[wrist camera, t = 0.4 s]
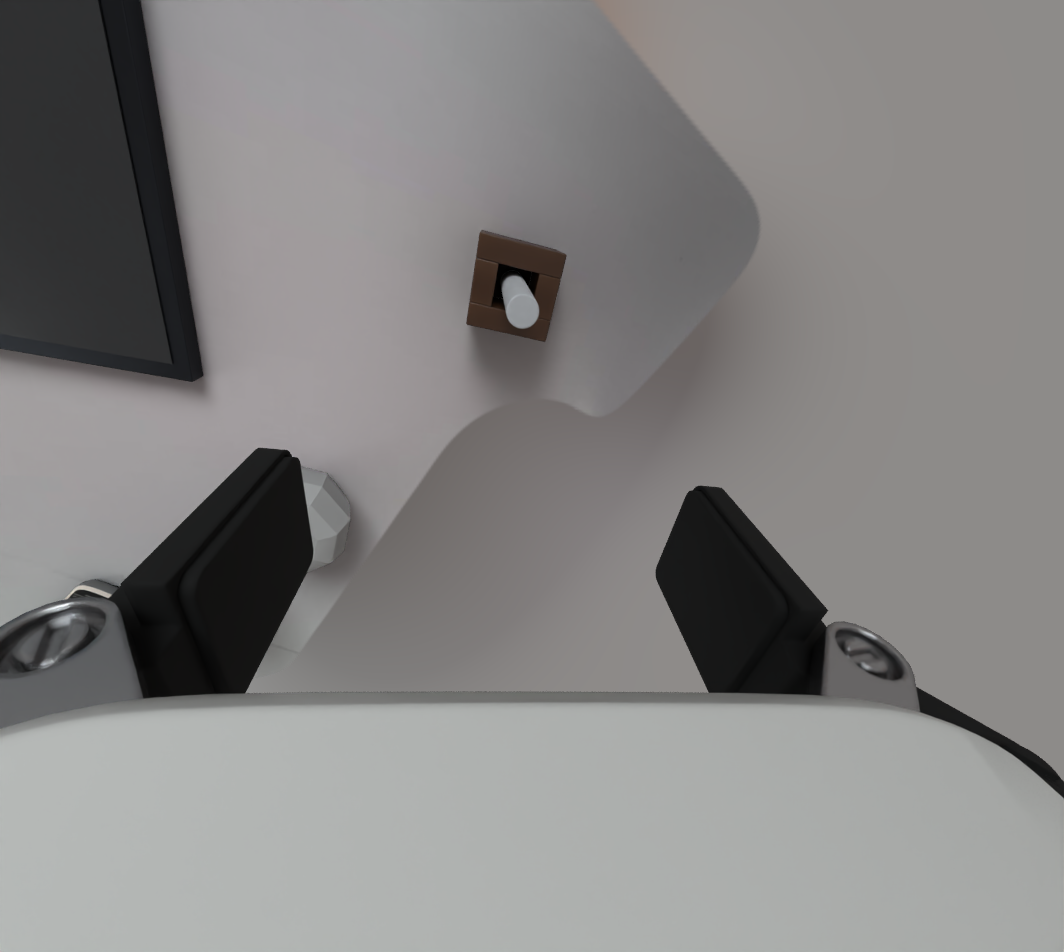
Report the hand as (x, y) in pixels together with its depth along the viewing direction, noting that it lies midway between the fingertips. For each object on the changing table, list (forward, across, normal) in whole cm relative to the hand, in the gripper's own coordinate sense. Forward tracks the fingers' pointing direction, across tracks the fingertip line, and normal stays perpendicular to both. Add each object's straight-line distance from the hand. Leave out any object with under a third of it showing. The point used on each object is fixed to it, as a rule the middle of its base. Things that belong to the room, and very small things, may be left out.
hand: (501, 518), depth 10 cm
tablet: (+20, +24, -5) cm, 32 cm away
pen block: (+20, -1, -3) cm, 20 cm away
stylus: (+20, -1, -3) cm, 20 cm away
